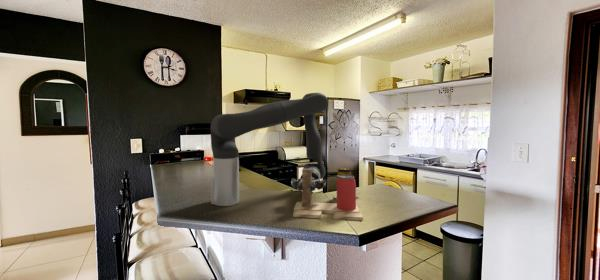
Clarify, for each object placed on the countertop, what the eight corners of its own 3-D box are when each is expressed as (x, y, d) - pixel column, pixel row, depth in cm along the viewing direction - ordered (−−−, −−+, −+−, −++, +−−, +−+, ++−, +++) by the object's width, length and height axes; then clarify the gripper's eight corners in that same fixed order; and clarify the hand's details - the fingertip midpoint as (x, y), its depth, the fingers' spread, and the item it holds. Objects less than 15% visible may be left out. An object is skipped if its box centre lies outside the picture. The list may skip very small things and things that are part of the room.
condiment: (332, 197, 107) (332, 168, 106) (346, 194, 112) (346, 166, 112) (345, 201, 101) (345, 171, 101) (359, 198, 107) (360, 168, 106)
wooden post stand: (293, 211, 89) (294, 170, 89) (297, 204, 97) (297, 167, 96) (359, 214, 87) (360, 173, 86) (357, 207, 95) (358, 168, 94)
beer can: (355, 214, 87) (355, 178, 86) (335, 212, 89) (335, 177, 88) (356, 207, 93) (356, 174, 93) (338, 206, 95) (337, 173, 94)
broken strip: (292, 216, 84) (293, 213, 84) (294, 212, 88) (294, 209, 88) (362, 220, 82) (362, 217, 82) (361, 216, 86) (361, 213, 86)
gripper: (293, 168, 107) (285, 177, 90) (328, 169, 105) (326, 178, 88) (293, 186, 107) (285, 198, 90) (327, 188, 106) (326, 200, 88)
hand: (305, 188), depth 89 cm, fingers open, 3 cm apart
